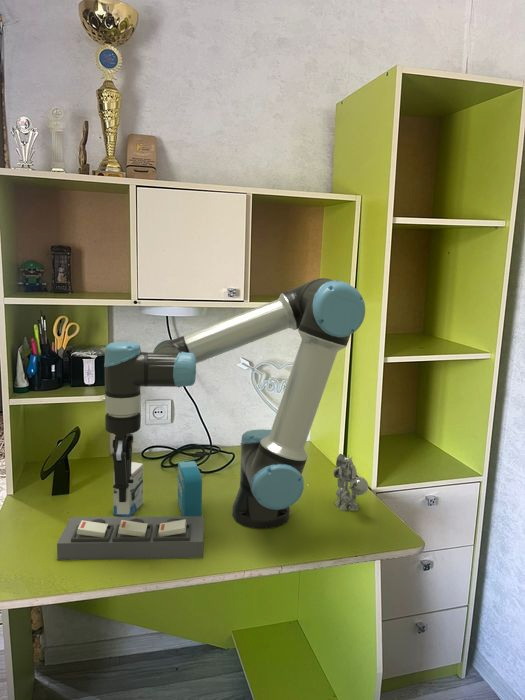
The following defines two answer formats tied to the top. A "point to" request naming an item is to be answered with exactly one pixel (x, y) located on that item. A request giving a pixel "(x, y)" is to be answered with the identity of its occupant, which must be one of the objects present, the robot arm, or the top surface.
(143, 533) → the middle rocker
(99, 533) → the rocker
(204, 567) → the top surface
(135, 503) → the ink box
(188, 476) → the data package
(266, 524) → the robot arm
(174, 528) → the rocker
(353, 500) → the robot toy
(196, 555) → the rocker switch panel
